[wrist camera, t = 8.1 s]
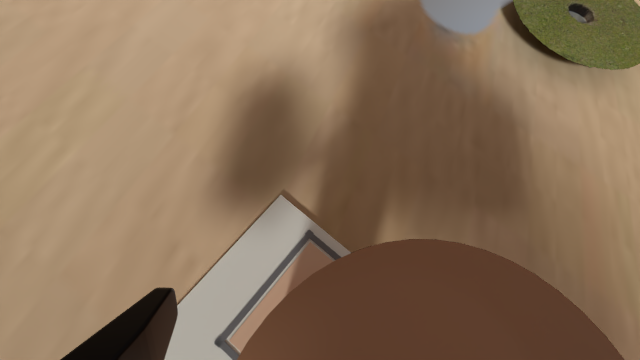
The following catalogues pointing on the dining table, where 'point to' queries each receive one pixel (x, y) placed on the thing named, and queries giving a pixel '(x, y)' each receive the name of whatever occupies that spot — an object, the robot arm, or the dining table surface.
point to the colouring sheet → (250, 283)
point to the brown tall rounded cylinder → (426, 311)
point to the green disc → (586, 30)
